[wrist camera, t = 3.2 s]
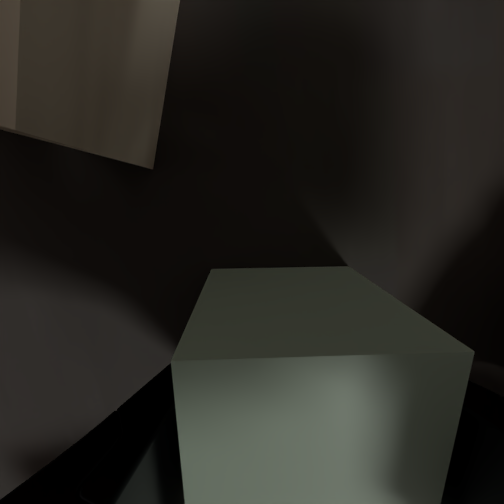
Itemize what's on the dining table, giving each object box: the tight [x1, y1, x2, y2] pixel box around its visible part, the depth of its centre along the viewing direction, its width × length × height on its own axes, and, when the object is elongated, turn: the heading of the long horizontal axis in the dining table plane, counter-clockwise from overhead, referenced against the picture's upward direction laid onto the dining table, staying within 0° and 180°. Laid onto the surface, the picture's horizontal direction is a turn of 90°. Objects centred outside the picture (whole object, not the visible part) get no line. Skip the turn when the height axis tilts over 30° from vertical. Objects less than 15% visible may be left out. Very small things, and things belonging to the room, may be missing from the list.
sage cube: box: [171, 266, 475, 504], centre depth 7 cm, size 5×5×5 cm
